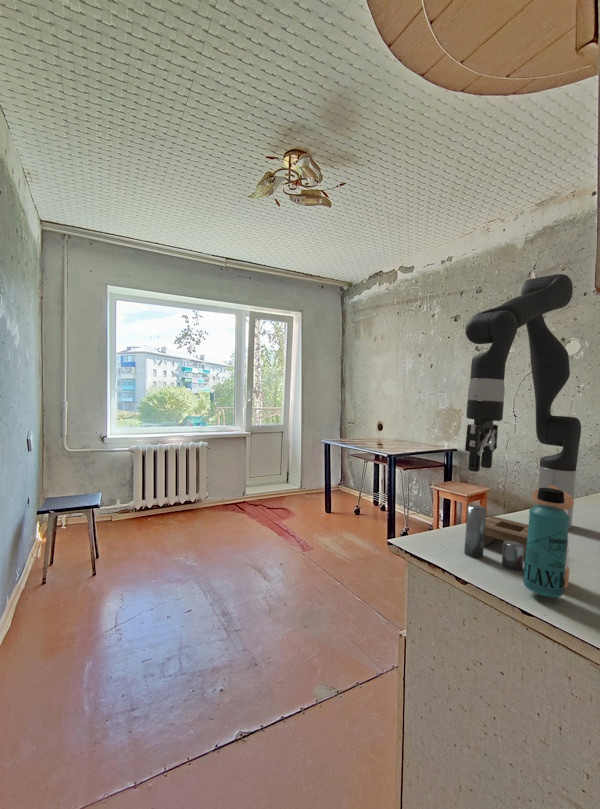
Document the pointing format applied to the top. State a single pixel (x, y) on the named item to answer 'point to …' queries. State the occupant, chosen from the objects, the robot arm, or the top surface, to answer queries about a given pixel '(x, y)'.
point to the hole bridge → (505, 531)
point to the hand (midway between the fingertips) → (480, 469)
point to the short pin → (513, 555)
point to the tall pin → (475, 531)
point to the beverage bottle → (546, 545)
